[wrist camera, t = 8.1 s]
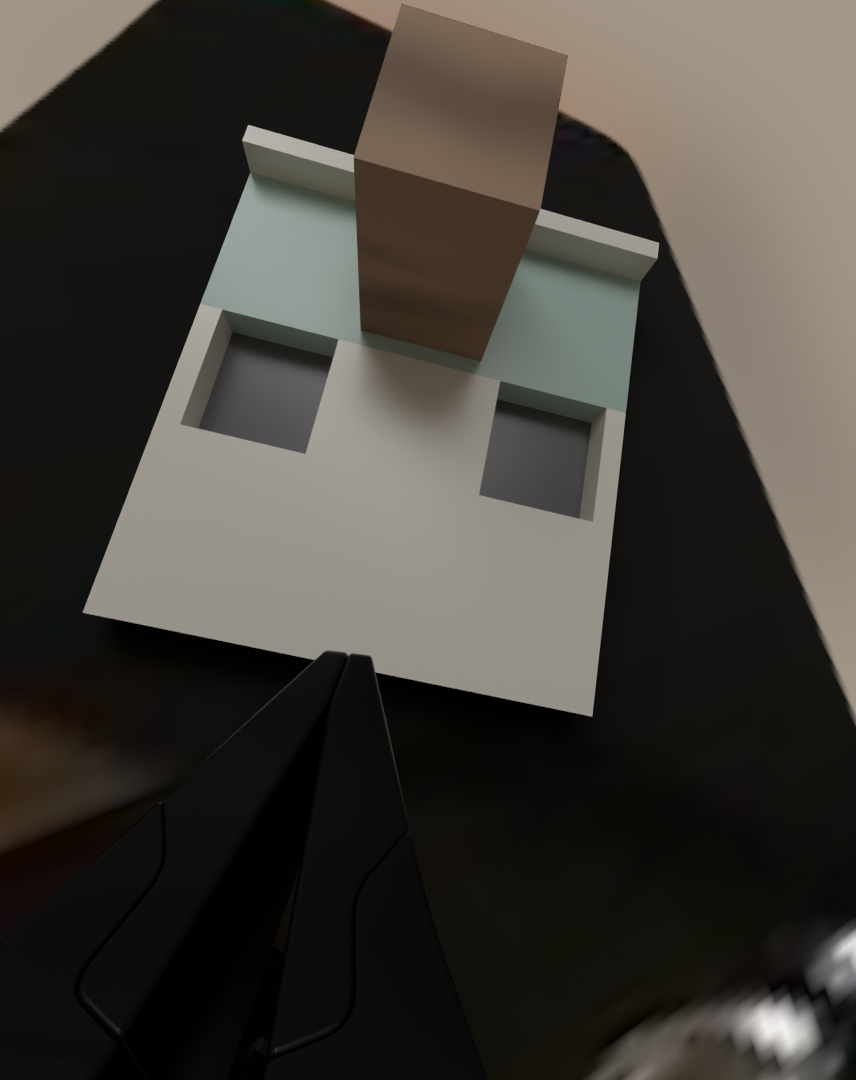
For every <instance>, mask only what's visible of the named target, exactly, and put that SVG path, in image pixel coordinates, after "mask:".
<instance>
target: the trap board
mask: <svg viewBox="0 0 856 1080" xmlns="http://www.w3.org/2000/svg"><path fill="white" fill-rule="evenodd" d="M242 142H243V145H244V149H245V153H246V157H247V161H248V164H249V168H250V172H251V173H250V176H249V178H248V181H247V183H246V186H245V189H244V191H243V194H242V197H241V199H240V202H239V204H238V207H237V210H236V212H235V215H234V218H233V220H232V223H231V225H230V228H229V231H228V233H227V236H226V238H225V241H224V244H223V246H222V249H221V252H220V254H219V257H218V259H217V262H216V265H215V267H214V270H213V273H212V275H211V278H210V280H209V283H208V286H207V288H206V291H205V294H204V296H203V299H202V301H201V304H200V307H199V309H198V312H197V315H196V317H195V320H194V322H193V325H192V328H191V330H190V333H189V335H188V338H187V341H186V343H185V346H184V349H183V351H182V354H181V356H180V359H179V362H178V364H177V367H176V370H175V372H174V375H173V377H172V380H171V383H170V385H169V388H168V391H167V393H166V396H165V398H164V401H163V404H162V406H161V409H160V412H159V414H158V417H157V419H156V422H155V425H154V427H153V430H152V432H151V435H150V438H149V440H148V443H147V446H146V448H145V451H144V453H143V456H142V459H141V461H140V464H139V467H138V469H137V472H136V474H135V477H134V480H133V482H132V485H131V488H130V490H129V493H128V495H127V498H126V501H125V503H124V506H123V509H122V511H121V514H120V516H119V519H118V522H117V524H116V527H115V529H114V532H113V535H112V537H111V540H110V543H109V545H108V548H107V550H106V553H105V556H104V558H103V561H102V564H101V566H100V569H99V571H98V574H97V577H96V579H95V582H94V585H93V587H92V590H91V592H90V595H89V598H88V600H87V603H86V606H85V608H84V611H83V613H87V614H92V615H97V616H102V617H107V618H112V619H117V620H122V621H126V622H131V623H136V624H141V625H146V626H151V627H156V628H161V629H166V630H171V631H175V632H180V633H185V634H190V635H195V636H200V637H205V638H210V639H215V640H220V641H224V642H229V643H234V644H239V645H244V646H249V647H254V648H259V649H264V650H269V651H273V652H278V653H283V654H288V655H293V656H298V657H303V658H308V659H313V660H315V659H316V658H318V657H319V656H320V655H321V654H322V653H323V652H325V651H327V650H330V651H339V652H345V653H347V654H348V656H349V655H350V654H351V653H355V654H364V655H370V656H371V657H372V659H373V664H374V668H375V672H376V673H381V674H386V675H391V676H396V677H401V678H406V679H411V680H415V681H420V682H425V683H430V684H435V685H440V686H445V687H450V688H455V689H460V690H464V691H469V692H474V693H479V694H484V695H489V696H494V697H499V698H504V699H509V700H513V701H518V702H523V703H528V704H533V705H538V706H543V707H548V708H553V709H558V710H562V711H567V712H572V713H577V714H582V715H587V716H592V714H593V705H594V696H595V687H596V678H597V669H598V660H599V651H600V642H601V633H602V624H603V614H604V605H605V596H606V587H607V578H608V569H609V560H610V551H611V542H612V533H613V524H614V515H615V506H616V497H617V488H618V479H619V470H620V460H621V451H622V442H623V433H624V424H625V415H626V406H627V397H628V388H629V379H630V370H631V361H632V352H633V343H634V334H635V325H636V316H637V306H638V297H639V288H640V281H641V280H642V278H643V277H644V276H645V275H646V273H647V272H648V271H649V269H650V268H651V267H652V265H653V264H654V263H655V261H656V260H657V257H658V248H659V243H657V242H654V241H650V240H647V239H643V238H640V237H637V236H633V235H630V234H626V233H623V232H619V231H616V230H612V229H609V228H605V227H602V226H598V225H595V224H591V223H588V222H584V221H581V220H577V219H574V218H570V217H567V216H563V215H560V214H556V213H553V212H549V211H546V210H542V209H540V212H539V215H538V217H537V220H536V222H535V225H534V227H533V230H532V233H531V235H530V238H529V240H528V243H527V245H526V248H525V250H524V253H523V255H522V258H521V261H520V263H519V266H518V268H517V271H516V273H515V276H514V278H513V281H512V284H511V286H510V289H509V291H508V294H507V296H506V299H505V301H504V304H503V307H502V309H501V312H500V314H499V317H498V319H497V322H496V324H495V327H494V330H493V332H492V335H491V337H490V340H489V342H488V345H487V347H486V350H485V352H484V355H483V358H482V360H481V361H478V360H474V359H470V358H466V357H462V356H458V355H454V354H450V353H447V352H443V351H439V350H435V349H431V348H427V347H423V346H419V345H416V344H412V343H408V342H404V341H400V340H396V339H392V338H388V337H384V336H381V335H377V334H373V333H369V332H365V331H361V328H360V303H359V278H358V253H357V229H356V204H355V179H354V155H351V154H347V153H344V152H340V151H337V150H333V149H330V148H326V147H323V146H320V145H316V144H313V143H309V142H306V141H302V140H299V139H295V138H292V137H288V136H285V135H281V134H278V133H274V132H271V131H267V130H264V129H260V128H257V127H253V126H250V125H248V127H247V130H246V133H245V135H244V138H243V140H242Z"/></svg>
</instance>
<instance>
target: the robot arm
mask: <svg viewBox="0 0 856 1080" xmlns="http://www.w3.org/2000/svg"><path fill="white" fill-rule="evenodd" d="M409 831H410V828H409V823H408V819H407V814H406V809H405V805H404V800H403V796H402V791H401V787H400V782H399V778H398V773H397V769H396V764H395V759H394V755H393V750H392V746H391V741H390V737H389V732H388V728H387V723H386V718H385V714H384V709H383V705H382V700H381V696H380V691H379V687H378V682H377V678H376V673H375V668H374V664H373V659H372V657H371V656H370V655H364V654H355V653H351V654H350V655H349V656H348V654H347V653H345V652H339V651H330V650H327V651H325V652H323V653H322V654H321V655H320V656H319V657H318V658H316V659H315V660H314V661H313V662H312V663H311V664H310V665H309V666H308V667H307V668H306V669H304V670H303V671H302V672H301V673H300V674H299V675H298V676H297V677H296V678H295V679H293V680H292V681H291V682H290V683H289V684H288V685H287V686H286V687H285V688H284V689H283V690H281V691H280V692H279V693H278V694H277V695H276V696H275V697H274V698H273V699H272V700H270V701H269V702H268V703H267V704H266V705H265V706H264V707H263V708H262V709H261V710H259V711H258V712H257V713H256V714H255V715H254V716H253V717H252V718H251V719H250V720H249V721H247V722H246V723H245V724H244V725H243V726H242V727H241V728H240V729H239V730H238V731H236V732H235V733H234V734H233V735H232V736H231V737H230V738H229V739H228V740H227V741H225V742H224V743H223V744H222V745H221V746H220V747H219V748H218V749H217V750H216V751H215V752H213V753H212V754H211V755H210V756H209V757H208V758H207V759H206V760H205V761H204V762H202V763H201V764H200V765H199V766H198V767H197V768H196V769H195V770H194V771H193V772H192V773H190V774H189V775H188V776H187V777H186V778H185V779H184V780H183V781H182V782H181V783H179V784H178V785H177V786H176V787H175V788H174V789H173V790H172V791H171V792H170V793H168V794H167V795H166V796H165V797H164V799H163V803H161V802H159V803H157V804H156V805H155V806H154V807H153V808H152V809H151V810H150V811H148V812H147V813H146V814H145V815H144V816H143V817H142V818H141V819H140V820H139V821H137V822H136V823H135V824H134V825H133V826H132V827H131V828H130V829H128V830H127V831H126V832H125V833H124V834H123V835H122V836H120V837H119V838H118V839H117V840H116V841H115V842H114V843H112V844H111V845H110V846H109V847H108V848H107V849H106V850H104V851H103V852H102V853H101V854H100V855H99V856H98V857H96V858H95V859H94V860H93V861H92V862H91V863H89V864H88V865H87V866H86V867H84V868H83V869H82V870H81V871H80V872H78V873H77V874H76V875H75V876H73V877H72V878H71V879H70V880H68V881H67V882H66V883H65V884H64V885H62V886H61V887H60V888H59V889H57V890H56V891H55V892H54V893H52V894H51V895H50V896H49V897H48V898H46V899H45V900H44V901H43V902H41V903H40V904H39V905H38V906H36V907H35V908H34V909H32V910H31V911H30V912H29V913H27V914H26V915H25V916H24V917H22V918H21V919H20V920H18V921H17V922H16V923H15V924H13V925H12V926H11V927H10V928H8V929H7V930H6V931H4V932H3V933H2V934H1V935H0V1080H487V1078H486V1075H485V1072H484V1070H483V1067H482V1064H481V1061H480V1058H479V1055H478V1052H477V1049H476V1046H475V1043H474V1041H473V1038H472V1035H471V1032H470V1029H469V1026H468V1023H467V1020H466V1017H465V1015H464V1012H463V1009H462V1006H461V1003H460V1000H459V997H458V994H457V991H456V988H455V986H454V983H453V980H452V977H451V974H450V971H449V968H448V965H447V962H446V960H445V957H444V954H443V950H442V947H441V944H440V941H439V938H438V935H437V931H436V928H435V925H434V922H433V918H432V915H431V912H430V909H429V906H428V902H427V898H426V894H425V890H424V886H423V882H422V878H421V874H420V870H419V867H418V863H417V858H416V854H415V849H414V845H413V840H412V836H411V834H410V833H409ZM299 866H300V869H299ZM298 869H299V874H298V880H297V886H296V891H295V897H294V902H293V908H292V914H291V919H290V925H289V930H288V936H287V942H286V947H285V952H281V951H279V950H277V949H276V948H274V947H273V943H274V940H275V937H276V934H277V931H278V928H279V925H280V922H281V919H282V916H283V913H284V910H285V907H286V904H287V902H288V899H289V896H290V893H291V890H292V887H293V884H294V881H295V878H296V875H297V872H298Z"/></svg>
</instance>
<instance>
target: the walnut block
mask: <svg viewBox="0 0 856 1080" xmlns="http://www.w3.org/2000/svg"><path fill="white" fill-rule="evenodd" d="M567 58H568V55H565V54H562V53H558V52H555V51H552V50H549V49H545V48H542V47H539V46H536V45H533V44H530V43H526V42H523V41H520V40H517V39H514V38H510V37H507V36H504V35H501V34H498V33H494V32H491V31H488V30H485V29H481V28H478V27H475V26H472V25H469V24H466V23H462V22H459V21H456V20H453V19H450V18H446V17H443V16H440V15H437V14H434V13H430V12H427V11H424V10H421V9H418V8H414V7H411V6H408V5H405V4H402V5H401V8H400V11H399V14H398V17H397V21H396V24H395V27H394V30H393V33H392V37H391V40H390V43H389V46H388V49H387V53H386V56H385V59H384V62H383V65H382V69H381V72H380V75H379V78H378V81H377V85H376V88H375V91H374V94H373V97H372V101H371V104H370V107H369V110H368V113H367V116H366V120H365V123H364V126H363V129H362V132H361V136H360V139H359V142H358V145H357V148H356V152H355V155H354V179H355V204H356V229H357V253H358V278H359V303H360V328H361V331H365V332H369V333H373V334H377V335H381V336H384V337H388V338H392V339H396V340H400V341H404V342H408V343H412V344H416V345H419V346H423V347H427V348H431V349H435V350H439V351H443V352H447V353H450V354H454V355H458V356H462V357H466V358H470V359H474V360H478V361H481V360H482V358H483V355H484V352H485V350H486V347H487V345H488V342H489V340H490V337H491V335H492V332H493V330H494V327H495V324H496V322H497V319H498V317H499V314H500V312H501V309H502V307H503V304H504V301H505V299H506V296H507V294H508V291H509V289H510V286H511V284H512V281H513V278H514V276H515V273H516V271H517V268H518V266H519V263H520V261H521V258H522V255H523V253H524V250H525V248H526V245H527V243H528V240H529V238H530V235H531V233H532V230H533V227H534V225H535V222H536V220H537V217H538V215H539V212H540V208H541V203H542V197H543V191H544V186H545V180H546V175H547V169H548V164H549V158H550V152H551V147H552V141H553V136H554V130H555V125H556V119H557V113H558V108H559V102H560V96H561V91H562V85H563V80H564V74H565V69H566V63H567Z"/></svg>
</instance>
